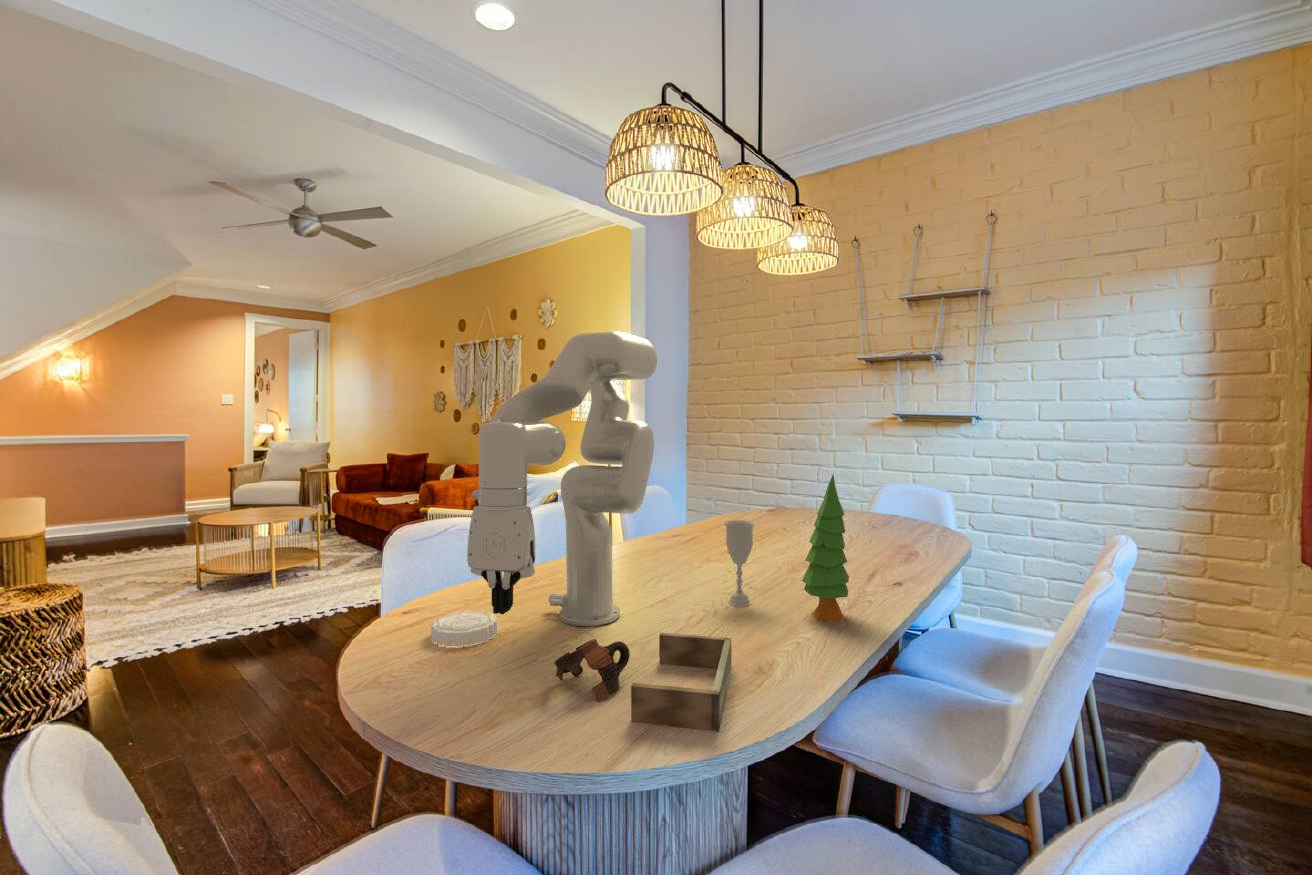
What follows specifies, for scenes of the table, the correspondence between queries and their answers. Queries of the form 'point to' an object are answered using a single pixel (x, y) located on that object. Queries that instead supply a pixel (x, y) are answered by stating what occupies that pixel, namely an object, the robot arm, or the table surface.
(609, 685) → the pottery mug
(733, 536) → the chalice
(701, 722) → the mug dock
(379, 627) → the table surface
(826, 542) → the decorative tree
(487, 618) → the mooncake
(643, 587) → the table surface
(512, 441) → the robot arm
